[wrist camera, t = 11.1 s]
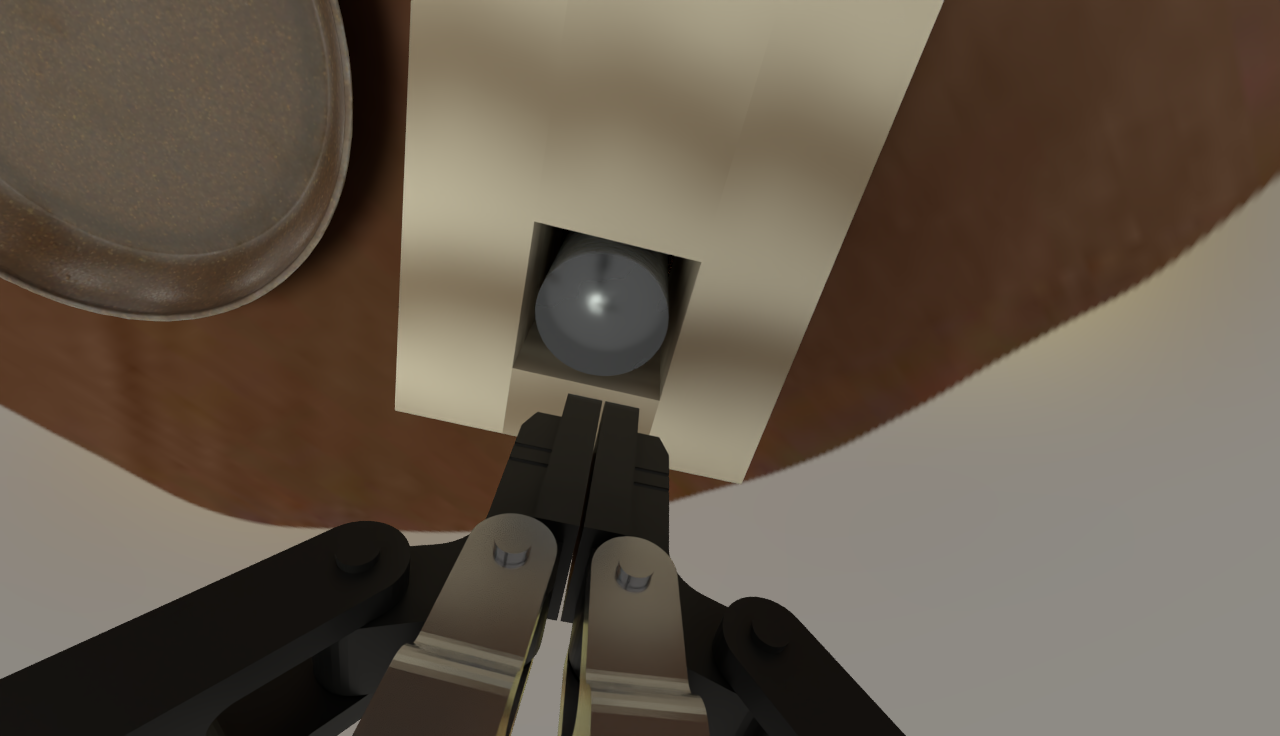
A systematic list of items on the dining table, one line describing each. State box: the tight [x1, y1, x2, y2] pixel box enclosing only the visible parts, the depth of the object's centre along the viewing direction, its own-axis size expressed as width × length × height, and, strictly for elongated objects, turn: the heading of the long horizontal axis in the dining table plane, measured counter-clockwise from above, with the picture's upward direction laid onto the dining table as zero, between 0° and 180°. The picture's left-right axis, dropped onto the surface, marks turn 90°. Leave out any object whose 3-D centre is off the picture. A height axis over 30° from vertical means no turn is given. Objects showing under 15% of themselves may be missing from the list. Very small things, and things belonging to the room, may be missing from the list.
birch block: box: [395, 0, 944, 484], centre depth 18 cm, size 22×12×8 cm, turn 167°
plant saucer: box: [0, 0, 353, 321], centre depth 21 cm, size 21×21×3 cm
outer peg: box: [535, 230, 669, 376], centre depth 21 cm, size 4×4×8 cm
